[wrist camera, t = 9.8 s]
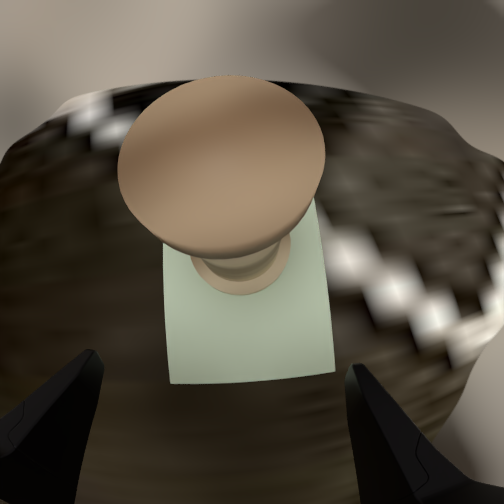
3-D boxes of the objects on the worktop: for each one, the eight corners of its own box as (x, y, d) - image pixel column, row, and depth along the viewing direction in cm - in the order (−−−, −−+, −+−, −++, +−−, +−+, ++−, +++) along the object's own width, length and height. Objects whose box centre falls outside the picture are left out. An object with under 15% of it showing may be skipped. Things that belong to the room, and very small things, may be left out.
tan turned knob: (306, 267, 21) (366, 187, 9) (216, 312, 20) (154, 288, 8) (261, 187, 23) (262, 58, 10) (178, 226, 22) (103, 123, 10)
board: (331, 369, 20) (335, 371, 19) (175, 381, 20) (170, 383, 19) (299, 139, 25) (300, 132, 24) (170, 152, 25) (167, 145, 24)
